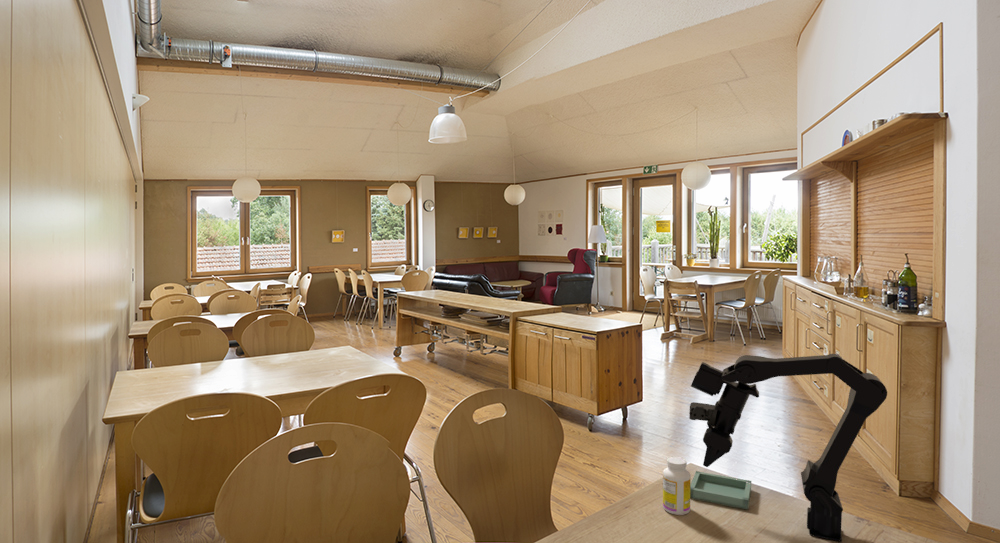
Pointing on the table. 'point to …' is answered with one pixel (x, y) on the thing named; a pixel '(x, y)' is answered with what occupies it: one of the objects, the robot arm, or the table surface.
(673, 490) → the supplement bottle
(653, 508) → the table surface
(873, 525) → the table surface
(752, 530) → the table surface
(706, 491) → the tub
